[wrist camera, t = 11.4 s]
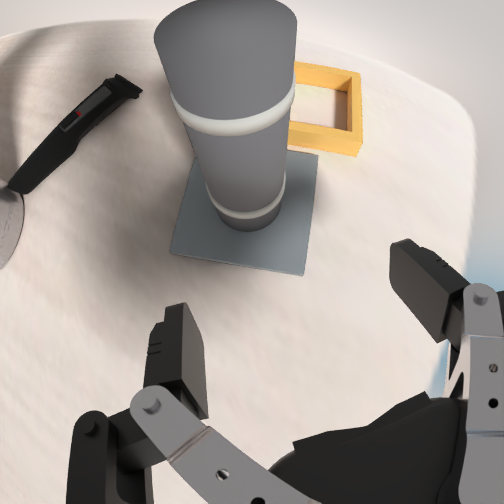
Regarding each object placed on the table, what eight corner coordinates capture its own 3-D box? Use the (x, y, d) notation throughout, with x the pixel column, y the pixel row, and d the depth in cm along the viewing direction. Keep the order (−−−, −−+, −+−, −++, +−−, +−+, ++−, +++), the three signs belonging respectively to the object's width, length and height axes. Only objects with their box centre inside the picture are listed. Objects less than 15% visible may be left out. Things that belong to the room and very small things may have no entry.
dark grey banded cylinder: (207, 227, 21) (126, 67, 7) (222, 167, 22) (179, -5, 8) (277, 238, 20) (292, 70, 7) (287, 176, 21) (304, -3, 8)
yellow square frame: (253, 139, 23) (252, 124, 21) (269, 73, 25) (269, 58, 23) (356, 156, 22) (362, 142, 20) (355, 88, 24) (360, 73, 22)
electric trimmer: (20, 187, 24) (1, 174, 21) (127, 81, 26) (117, 61, 23) (31, 209, 23) (10, 196, 20) (146, 94, 25) (136, 72, 22)
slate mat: (171, 253, 21) (169, 251, 20) (202, 144, 23) (200, 140, 23) (302, 276, 20) (303, 274, 20) (317, 159, 22) (318, 155, 22)
